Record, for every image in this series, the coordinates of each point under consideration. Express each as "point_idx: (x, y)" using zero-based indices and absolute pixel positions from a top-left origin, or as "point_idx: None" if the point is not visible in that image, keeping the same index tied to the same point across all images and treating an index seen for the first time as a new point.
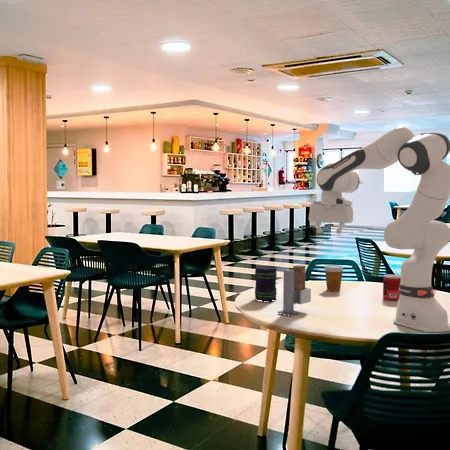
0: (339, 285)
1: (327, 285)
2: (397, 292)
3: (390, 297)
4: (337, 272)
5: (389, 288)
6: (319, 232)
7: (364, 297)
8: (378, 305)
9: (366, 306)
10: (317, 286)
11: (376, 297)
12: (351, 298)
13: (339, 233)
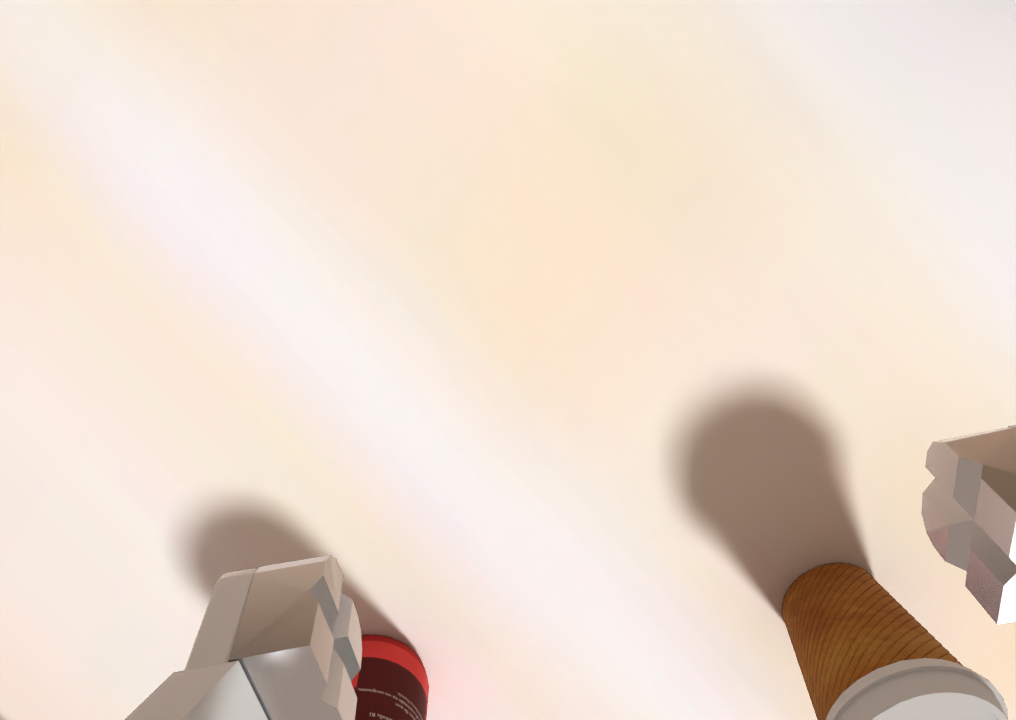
0: (792, 638)
1: (875, 587)
2: None
3: None
4: (838, 696)
5: None
6: (971, 440)
7: (524, 591)
8: (292, 479)
9: (317, 390)
10: None
11: (472, 648)
12: (563, 501)
13: (247, 578)
